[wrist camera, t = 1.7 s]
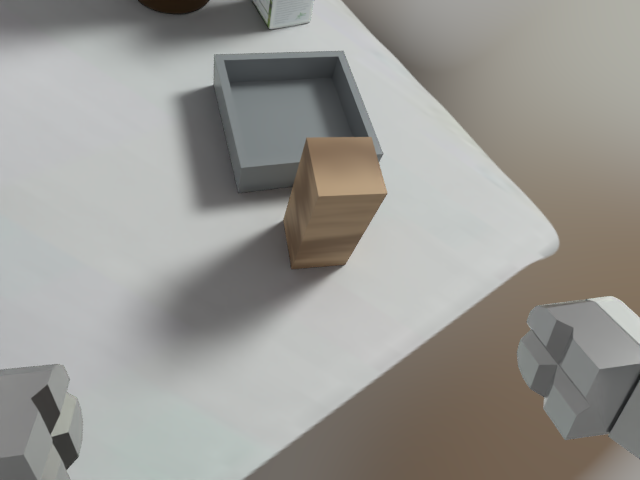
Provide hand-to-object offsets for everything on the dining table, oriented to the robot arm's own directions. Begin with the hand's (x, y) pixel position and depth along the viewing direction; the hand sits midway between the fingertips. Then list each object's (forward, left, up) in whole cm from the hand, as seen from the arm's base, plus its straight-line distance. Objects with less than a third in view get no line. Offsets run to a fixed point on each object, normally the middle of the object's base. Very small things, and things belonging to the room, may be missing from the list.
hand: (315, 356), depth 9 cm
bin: (-30, +12, -31) cm, 44 cm away
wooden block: (-17, +11, -31) cm, 37 cm away
